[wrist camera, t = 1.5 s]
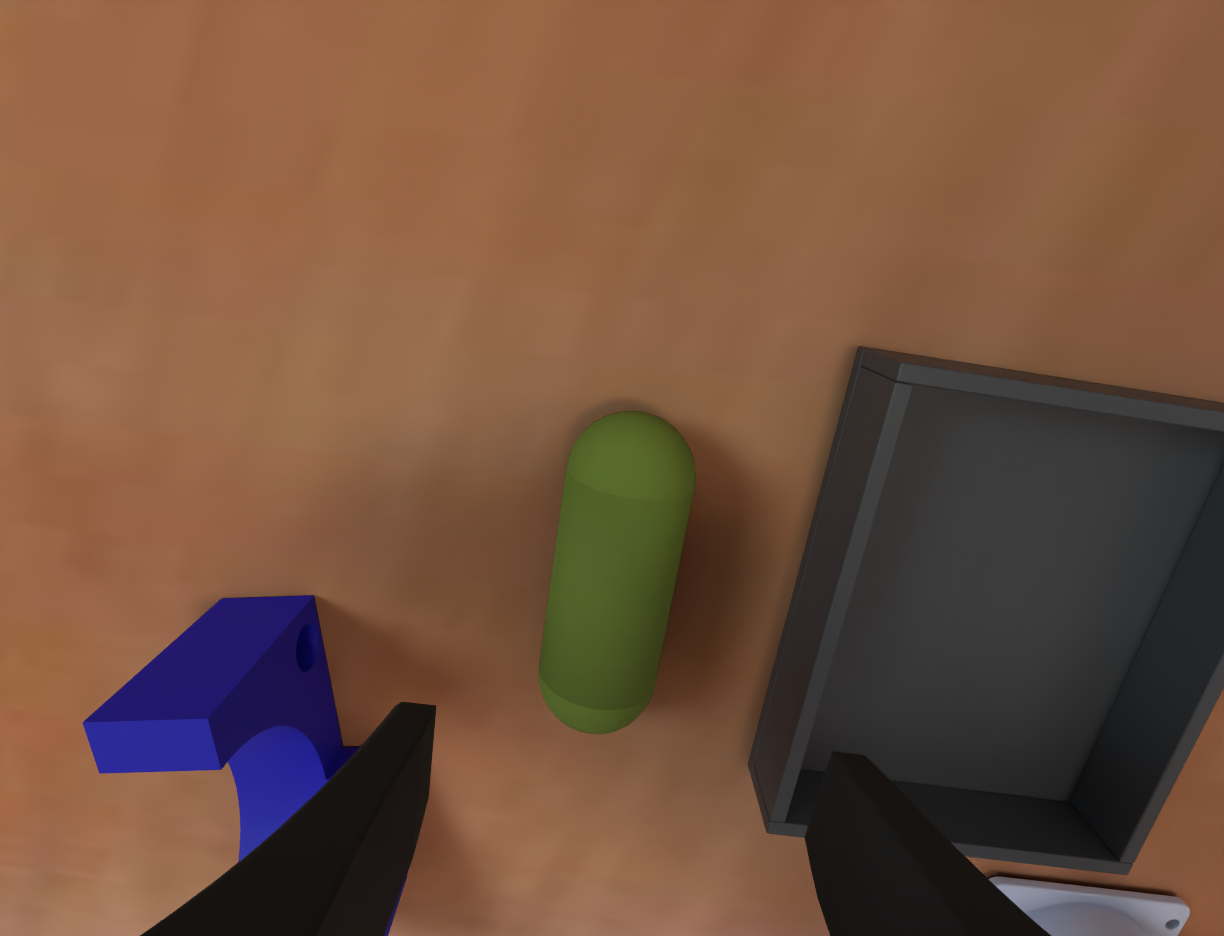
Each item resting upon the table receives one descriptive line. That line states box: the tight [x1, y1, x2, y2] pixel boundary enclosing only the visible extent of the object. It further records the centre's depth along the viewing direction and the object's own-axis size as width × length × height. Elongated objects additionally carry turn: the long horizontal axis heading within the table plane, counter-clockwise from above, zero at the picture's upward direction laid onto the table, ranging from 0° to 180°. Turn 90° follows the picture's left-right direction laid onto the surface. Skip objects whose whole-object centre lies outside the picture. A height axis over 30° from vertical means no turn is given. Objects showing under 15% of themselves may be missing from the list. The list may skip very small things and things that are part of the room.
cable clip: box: [83, 595, 407, 936], centre depth 21 cm, size 12×4×6 cm, turn 2°
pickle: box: [539, 411, 696, 734], centre depth 19 cm, size 10×4×4 cm, turn 171°
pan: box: [748, 346, 1224, 875], centre depth 20 cm, size 15×12×3 cm
